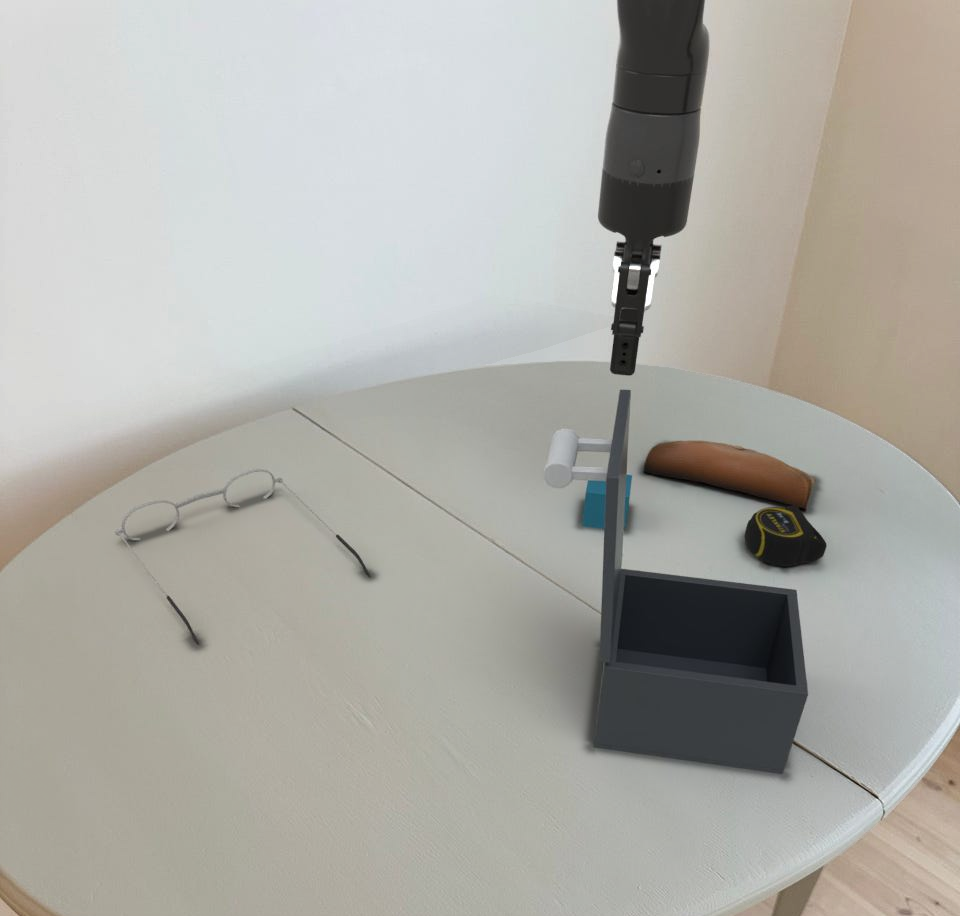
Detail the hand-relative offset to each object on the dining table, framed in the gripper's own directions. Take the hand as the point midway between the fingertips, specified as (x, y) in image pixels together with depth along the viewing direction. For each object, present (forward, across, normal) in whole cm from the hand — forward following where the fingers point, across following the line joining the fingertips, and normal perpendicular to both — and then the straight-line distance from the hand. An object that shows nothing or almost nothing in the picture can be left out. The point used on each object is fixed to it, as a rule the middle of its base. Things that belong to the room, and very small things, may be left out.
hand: (625, 353), depth 92 cm
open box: (+18, -27, -9) cm, 34 cm away
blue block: (+18, 0, 0) cm, 18 cm away
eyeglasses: (+19, -15, +34) cm, 41 cm away
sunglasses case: (+18, +11, -13) cm, 25 cm away
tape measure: (+18, -2, -18) cm, 26 cm away
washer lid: (+1, -27, -2) cm, 27 cm away
